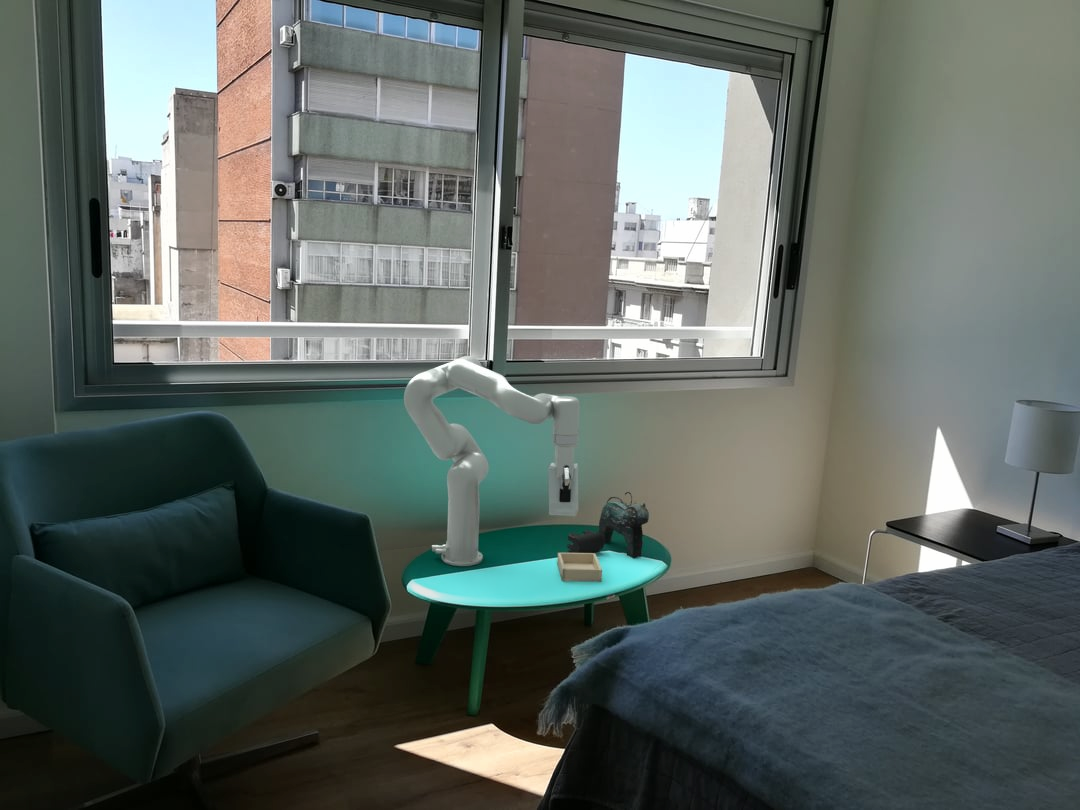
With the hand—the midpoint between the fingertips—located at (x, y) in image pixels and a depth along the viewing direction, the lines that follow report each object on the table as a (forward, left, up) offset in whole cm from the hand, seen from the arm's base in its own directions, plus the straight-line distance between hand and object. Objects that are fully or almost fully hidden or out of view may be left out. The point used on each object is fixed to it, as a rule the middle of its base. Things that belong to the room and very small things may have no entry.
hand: (563, 497), depth 252 cm
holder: (+6, 0, -23) cm, 24 cm away
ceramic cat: (+22, +20, -24) cm, 38 cm away
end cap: (+10, +16, -24) cm, 30 cm away
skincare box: (0, 0, -5) cm, 5 cm away
